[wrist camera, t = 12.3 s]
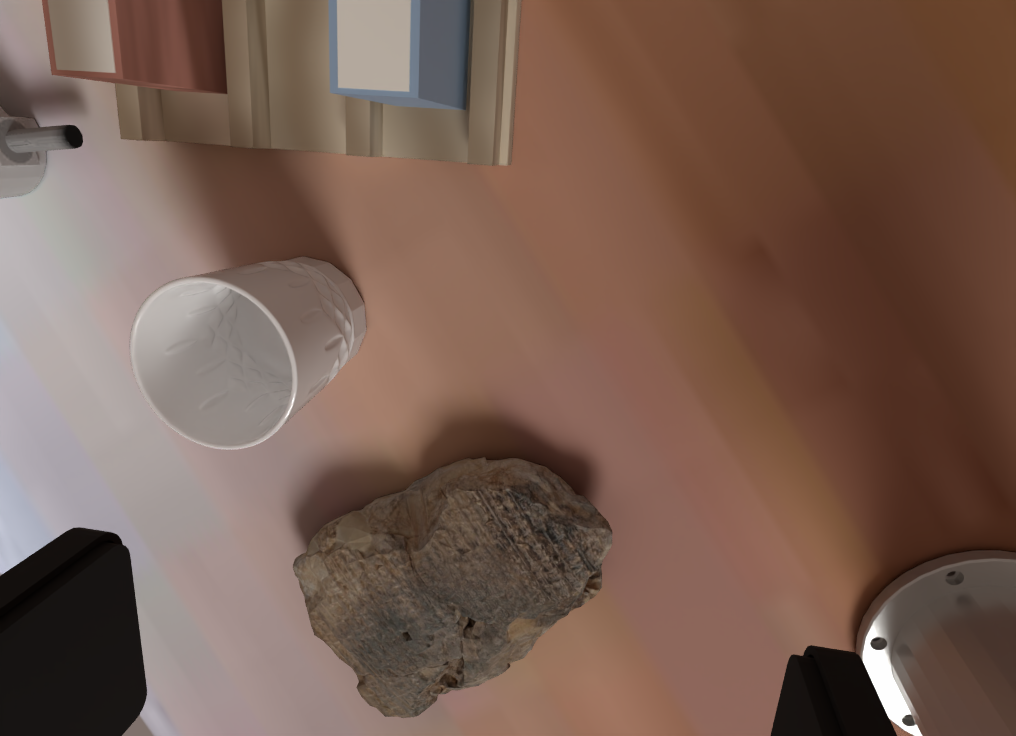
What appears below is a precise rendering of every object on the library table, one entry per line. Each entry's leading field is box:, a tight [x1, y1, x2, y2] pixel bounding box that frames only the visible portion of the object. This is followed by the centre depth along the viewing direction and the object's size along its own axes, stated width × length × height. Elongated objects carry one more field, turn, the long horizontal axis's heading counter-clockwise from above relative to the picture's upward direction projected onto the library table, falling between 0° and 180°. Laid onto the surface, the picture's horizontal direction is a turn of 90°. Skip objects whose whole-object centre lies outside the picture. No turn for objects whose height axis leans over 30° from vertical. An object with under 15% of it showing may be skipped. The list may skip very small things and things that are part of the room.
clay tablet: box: [293, 457, 612, 718], centre depth 40 cm, size 14×5×20 cm
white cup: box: [129, 256, 367, 450], centre depth 34 cm, size 8×8×10 cm
